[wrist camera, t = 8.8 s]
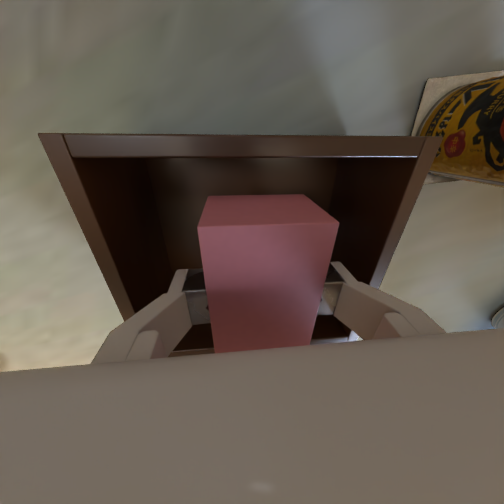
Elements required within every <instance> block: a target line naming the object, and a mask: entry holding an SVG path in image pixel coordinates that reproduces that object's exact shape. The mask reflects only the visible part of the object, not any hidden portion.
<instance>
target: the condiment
mask: <svg viewBox="0 0 504 504" xmlns="http://www.w3.org/2000/svg"><path fill="white" fill-rule="evenodd" d="M411 136H442V137H443V140H442V142H441V144H440V147H439V149H438V151H437V154H436V156H435V158H434V161H433V163H432V165H431V168H430V170H429V172H428V175H427V177H426V179H425V182H424V184H431V183H440V182H450V181H458V180H466V181H472V182H477V183H483V184H488V185H493V186H499V187H504V70H502V71H494V72H485V73H477V74H467V75H458V76H449V77H440V78H428V79H427V83H426V86H425V90H424V93H423V97H422V100H421V103H420V107H419V111H418V113H417V117H416V120H415V124H414V128H413V131H412V134H411ZM424 184H423V185H424Z"/></svg>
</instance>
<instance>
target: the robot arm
mask: <svg viewBox="0 0 504 504" xmlns="http://www.w3.org/2000/svg"><path fill="white" fill-rule="evenodd" d="M317 315H333V316H335V317H336V318H337V319H338V320H340V321H341V322H342V323H343V324H345V325H346V326H347V327H348V328H350V329H351V330H352V331H353V332H355V333H356V334H357V335H358V336H360V337H361V338H362V339H363V340H362V341H350V342H339V343H327V344H316V345H304V346H293V347H281V348H270V349H259V350H247V351H236V352H224V353H213V354H201V355H190V356H179V357H168V356H169V354H170V353H171V352H172V351H173V349H174V348H175V347H176V346H177V344H178V343H179V342H180V341H181V339H182V338H183V337H184V336H185V334H186V333H187V332H188V331H189V329H190V328H191V327H192V325H197V324H207V323H211V322H210V315H209V308H208V300H207V293H206V286H205V279H204V272H203V269H178V270H177V271H176V272H175V275H174V277H173V280H172V282H171V285H170V287H169V290H168V292H167V293H164V294H162V295H161V296H160V297H158V298H157V299H155V300H154V301H153V302H151V303H150V304H148V305H147V306H146V307H144V308H143V309H142V310H140V311H139V312H137V313H136V314H135V315H133V316H132V317H130V318H129V319H128V320H126V321H125V322H124V323H122V324H121V325H119V326H118V327H117V328H115V329H114V330H112V331H111V332H110V333H109V335H108V336H107V338H106V340H105V341H104V343H103V344H102V346H101V348H100V349H99V351H98V353H97V354H96V356H95V358H94V359H93V361H92V362H91V364H87V365H76V366H64V367H53V368H41V369H30V370H18V371H7V372H0V504H504V328H499V329H488V330H476V331H465V332H453V333H446V332H445V331H444V330H443V329H442V328H441V327H440V326H439V325H438V324H436V323H435V322H434V321H433V320H432V319H431V318H430V317H429V316H428V315H427V314H425V313H424V312H423V311H422V310H421V309H419V308H417V307H415V306H412V305H410V304H408V303H406V302H404V301H402V300H400V299H397V298H395V297H393V296H391V295H389V294H387V293H385V292H382V291H380V290H378V289H376V288H374V287H372V286H370V285H367V284H365V283H363V282H358V281H357V280H356V279H355V278H354V277H353V276H352V274H351V273H350V272H349V271H348V270H347V269H346V268H345V267H344V265H343V264H342V263H341V262H339V261H336V262H330V263H329V267H328V272H327V276H326V280H325V284H324V288H323V292H322V296H321V300H320V304H319V308H318V312H317Z"/></svg>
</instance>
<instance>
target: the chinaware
mask: <svg viewBox="0 0 504 504" xmlns="http://www.w3.org/2000/svg"><path fill="white" fill-rule="evenodd" d="M492 326H493V327H494V328H496V329H499V328H504V307H503V308H502V309H500V310H499V311H498V312H497V313H496V314H495V316H494V317H493V319H492Z"/></svg>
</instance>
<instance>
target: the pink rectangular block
mask: <svg viewBox="0 0 504 504" xmlns="http://www.w3.org/2000/svg"><path fill="white" fill-rule="evenodd" d="M338 227H339V222H338V221H337V220H336V219H334V218H333V217H332V216H330V215H329V214H328V213H327V212H325V211H324V210H323V209H322V208H320V207H319V206H318V205H317V204H315V203H314V202H313V201H312V200H310V199H309V198H308V197H306V196H305V195H304V194H286V195H229V196H208V198H207V201H206V204H205V207H204V209H203V212H202V215H201V218H200V221H199V224H198V227H197V230H198V237H199V244H200V251H201V258H202V265H203V272H204V279H205V286H206V293H207V300H208V308H209V315H210V322H211V329H212V336H213V343H214V350H215V353H224V352H236V351H247V350H259V349H270V348H281V347H293V346H304V345H310V341H311V337H312V333H313V329H314V325H315V321H316V316H317V312H318V308H319V304H320V300H321V296H322V292H323V288H324V284H325V280H326V276H327V272H328V267H329V263H330V259H331V255H332V251H333V247H334V243H335V239H336V235H337V231H338Z"/></svg>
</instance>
